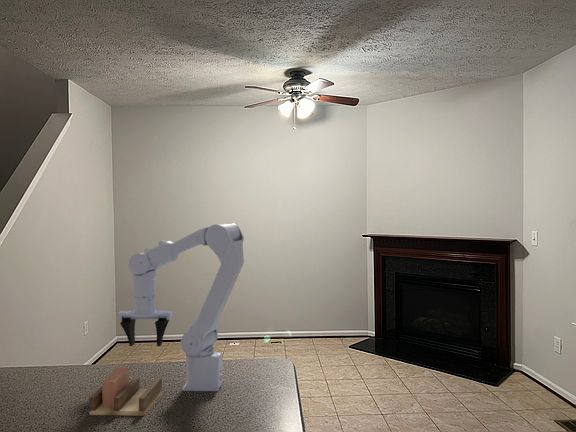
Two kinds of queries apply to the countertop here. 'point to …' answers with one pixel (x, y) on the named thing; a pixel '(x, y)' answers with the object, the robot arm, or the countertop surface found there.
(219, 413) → the countertop surface
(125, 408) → the book rack
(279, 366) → the countertop surface
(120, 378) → the book
